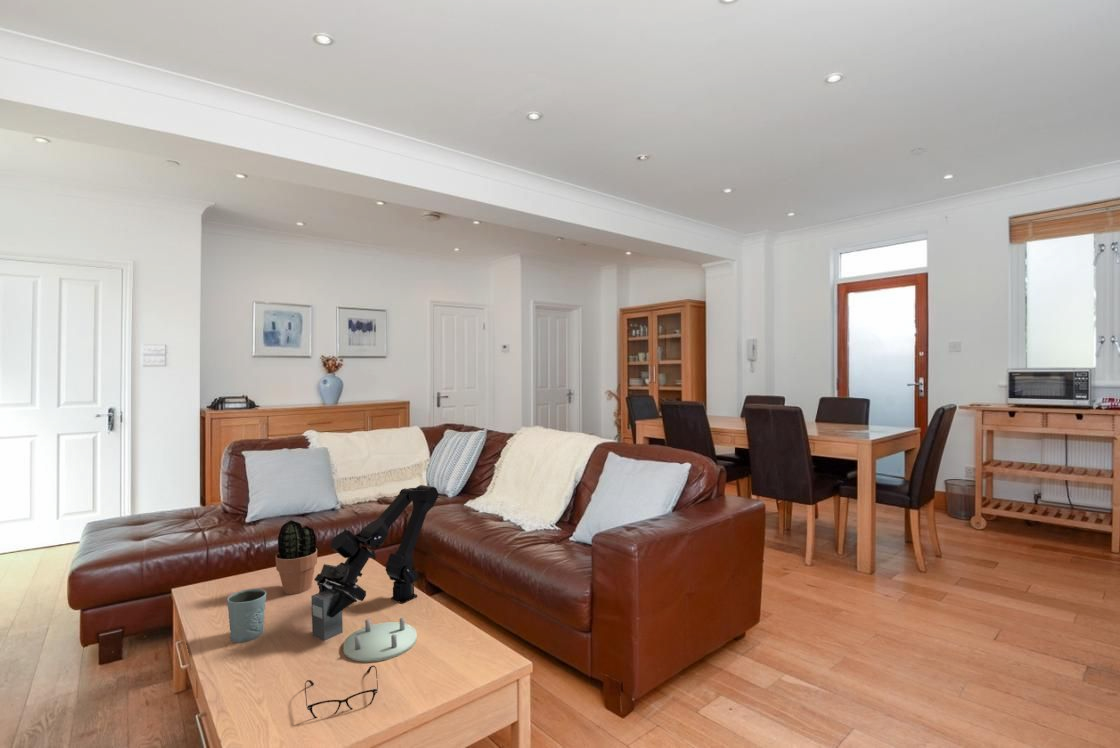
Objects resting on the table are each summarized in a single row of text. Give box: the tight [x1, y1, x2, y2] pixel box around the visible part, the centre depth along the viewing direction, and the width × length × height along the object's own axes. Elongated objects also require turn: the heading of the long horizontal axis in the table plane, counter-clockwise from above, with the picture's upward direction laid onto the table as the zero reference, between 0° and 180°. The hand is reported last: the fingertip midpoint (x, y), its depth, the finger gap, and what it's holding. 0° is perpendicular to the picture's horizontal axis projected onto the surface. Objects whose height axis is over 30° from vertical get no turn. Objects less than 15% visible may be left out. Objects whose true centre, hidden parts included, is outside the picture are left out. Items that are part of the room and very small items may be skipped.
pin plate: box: [343, 617, 418, 663], centre depth 159 cm, size 20×20×4 cm
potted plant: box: [275, 519, 318, 595], centre depth 197 cm, size 14×14×25 cm
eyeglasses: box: [304, 665, 379, 719], centre depth 134 cm, size 16×16×4 cm
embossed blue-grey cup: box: [226, 588, 267, 643], centre depth 164 cm, size 10×10×12 cm
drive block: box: [310, 589, 344, 642], centre depth 164 cm, size 6×6×12 cm
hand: (322, 614), depth 163 cm, fingers open, 7 cm apart
